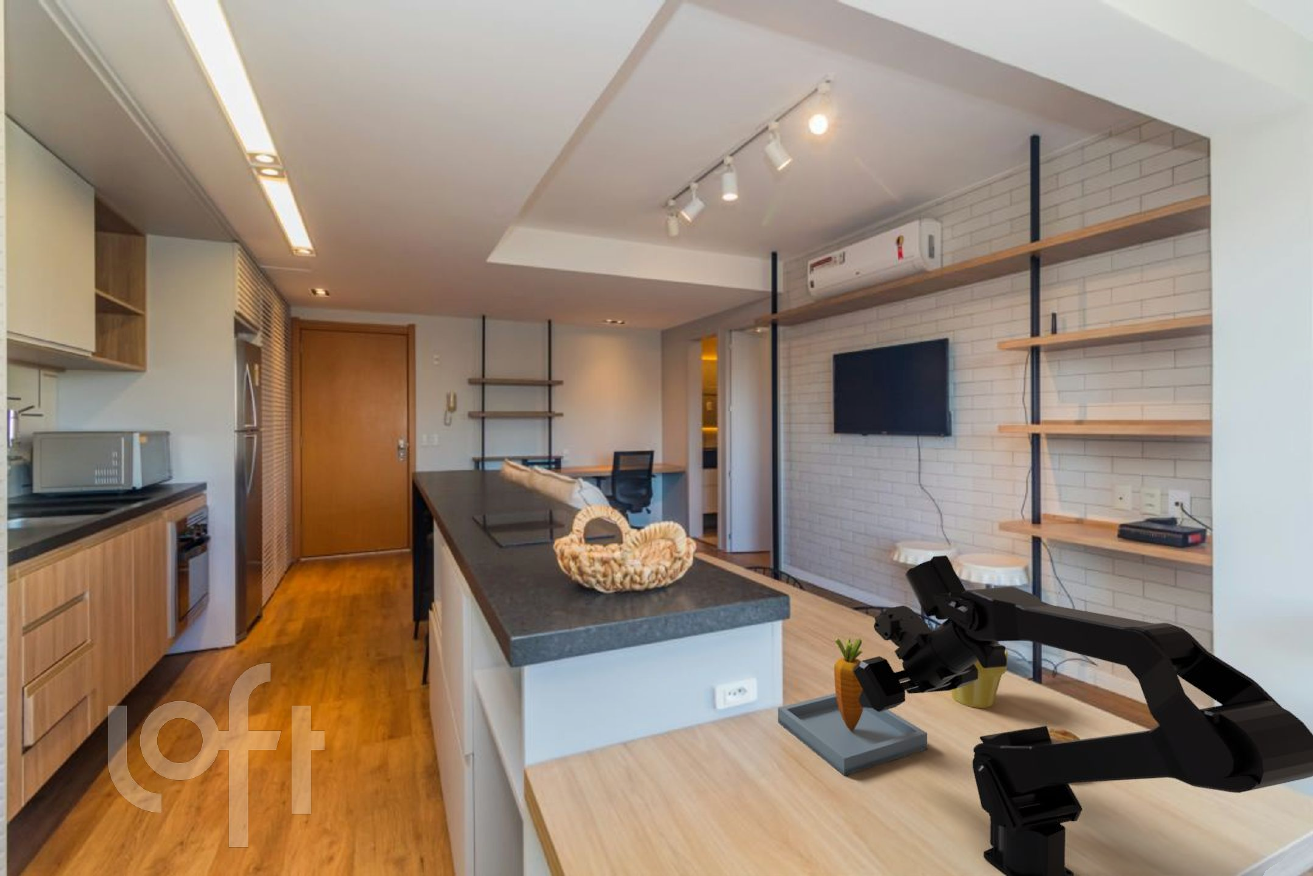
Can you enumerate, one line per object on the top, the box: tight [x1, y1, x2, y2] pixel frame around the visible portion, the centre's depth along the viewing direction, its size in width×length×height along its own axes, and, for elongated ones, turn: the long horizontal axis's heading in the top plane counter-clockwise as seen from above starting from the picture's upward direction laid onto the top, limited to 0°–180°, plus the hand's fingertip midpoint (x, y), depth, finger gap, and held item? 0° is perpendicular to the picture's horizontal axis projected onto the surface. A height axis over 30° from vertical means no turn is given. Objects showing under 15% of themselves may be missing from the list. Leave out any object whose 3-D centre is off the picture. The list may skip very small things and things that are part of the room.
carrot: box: [833, 637, 863, 731], centre depth 95 cm, size 5×5×15 cm
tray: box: [777, 692, 928, 777], centre depth 95 cm, size 16×16×2 cm
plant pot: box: [950, 648, 1008, 709], centre depth 106 cm, size 10×10×10 cm
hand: (884, 696), depth 88 cm, fingers open, 9 cm apart
